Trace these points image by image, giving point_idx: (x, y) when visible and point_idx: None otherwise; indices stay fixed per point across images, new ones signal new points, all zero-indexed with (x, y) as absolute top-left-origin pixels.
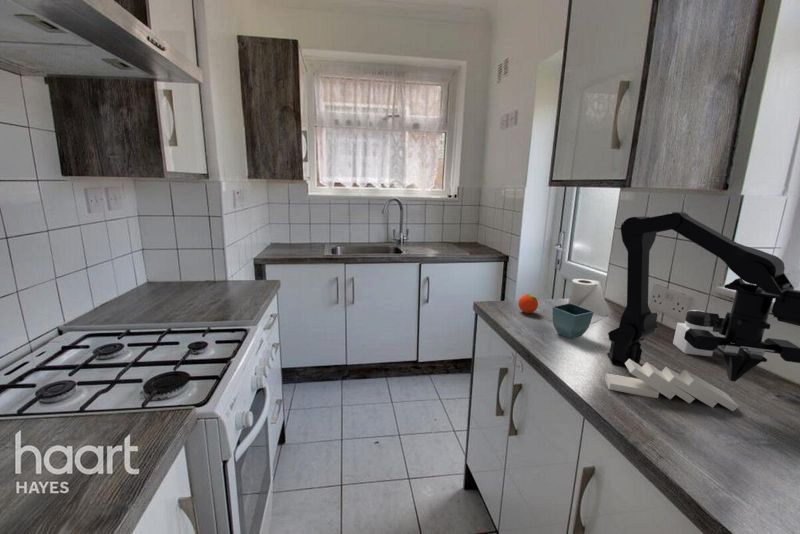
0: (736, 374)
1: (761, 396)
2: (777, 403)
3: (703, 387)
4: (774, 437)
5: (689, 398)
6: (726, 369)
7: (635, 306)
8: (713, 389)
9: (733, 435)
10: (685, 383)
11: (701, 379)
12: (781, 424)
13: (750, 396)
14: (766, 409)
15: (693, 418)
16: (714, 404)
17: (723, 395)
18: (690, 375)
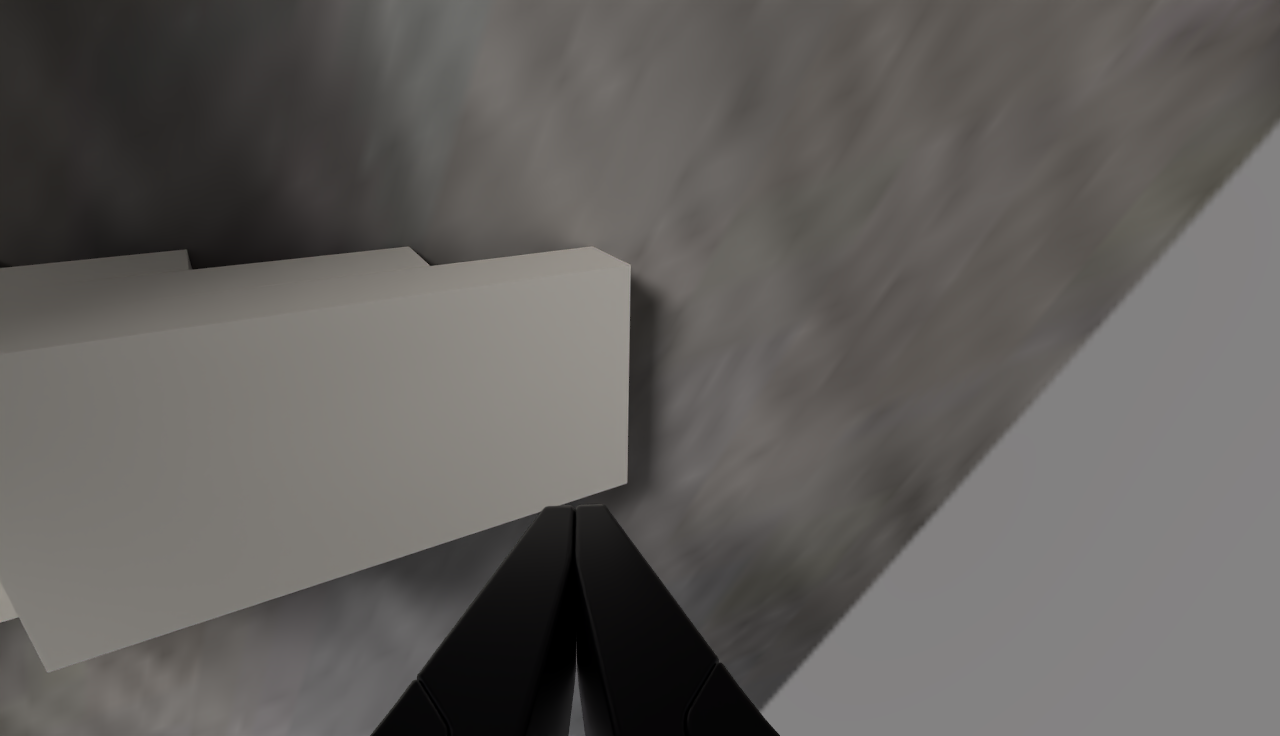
0: (582, 700)
1: (1098, 4)
2: (1145, 131)
3: (234, 601)
4: None
5: None
6: (477, 599)
7: None
8: (404, 462)
9: None
10: (9, 618)
11: (280, 323)
12: (874, 505)
13: (960, 56)
14: (927, 307)
15: (242, 653)
16: None
17: (522, 439)
18: (13, 530)
